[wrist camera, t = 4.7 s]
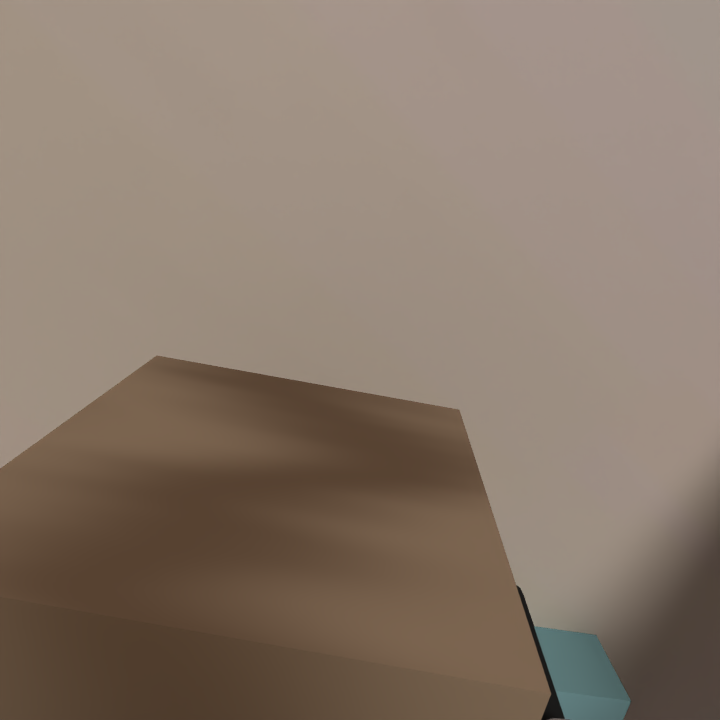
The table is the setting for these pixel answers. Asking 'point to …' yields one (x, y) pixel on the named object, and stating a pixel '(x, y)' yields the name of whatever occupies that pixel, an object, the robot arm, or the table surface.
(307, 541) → the walnut cube
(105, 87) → the table surface
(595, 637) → the teal base block
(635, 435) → the table surface
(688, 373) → the table surface
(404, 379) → the table surface
